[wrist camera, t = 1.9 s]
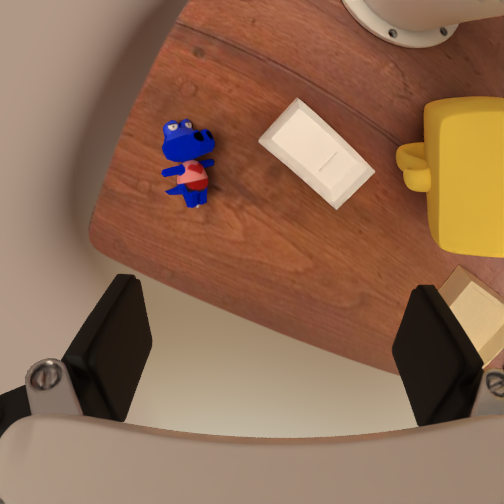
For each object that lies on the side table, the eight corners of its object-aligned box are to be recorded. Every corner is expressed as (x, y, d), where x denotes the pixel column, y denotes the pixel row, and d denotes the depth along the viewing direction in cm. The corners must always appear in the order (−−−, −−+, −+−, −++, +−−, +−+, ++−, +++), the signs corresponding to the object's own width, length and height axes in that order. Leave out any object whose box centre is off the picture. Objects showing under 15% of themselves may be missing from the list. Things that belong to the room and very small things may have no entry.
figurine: (158, 128, 23) (164, 116, 26) (160, 215, 27) (164, 191, 31) (219, 129, 23) (216, 116, 27) (214, 215, 28) (212, 191, 32)
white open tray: (375, 171, 26) (367, 164, 28) (298, 98, 23) (296, 97, 26) (336, 210, 28) (331, 199, 30) (258, 142, 25) (259, 137, 28)
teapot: (593, 261, 15) (548, 202, 24) (616, 124, 9) (554, 96, 18) (401, 263, 23) (396, 200, 32) (393, 100, 17) (385, 86, 26)
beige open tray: (393, 339, 39) (400, 358, 36) (458, 264, 33) (471, 280, 30) (461, 366, 42) (468, 382, 39) (515, 308, 36) (526, 322, 33)
